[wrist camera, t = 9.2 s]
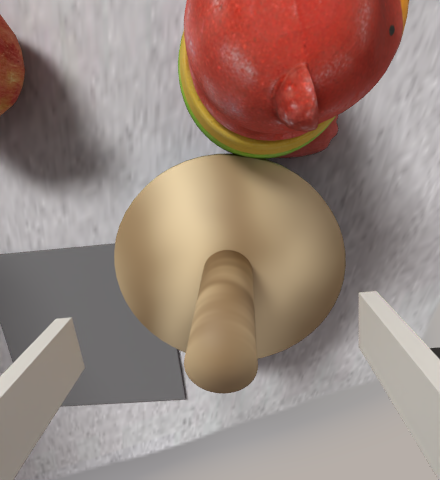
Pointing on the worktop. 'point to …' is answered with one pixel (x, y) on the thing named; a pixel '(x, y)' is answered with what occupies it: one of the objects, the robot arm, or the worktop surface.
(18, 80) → the fruit
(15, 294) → the mat
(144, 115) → the worktop surface
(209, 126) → the stacking bear
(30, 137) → the worktop surface
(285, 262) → the lid
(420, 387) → the robot arm
